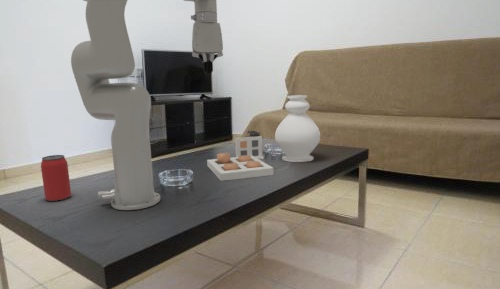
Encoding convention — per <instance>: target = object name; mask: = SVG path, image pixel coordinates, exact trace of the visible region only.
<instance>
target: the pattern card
mask: <svg viewBox="0 0 500 289" xmlns="http://www.w3.org/2000/svg"><path fill="white" fill-rule="evenodd" d="M234 142H235V144H234V145H235V157H238V156H242V155H249V156H254V157H256V158H257V159H259V160H264V159H265V157H264V156H263V154H262V149H263V138H262V135H260V136H258V137H246V136H245V137H236V138H234Z"/></svg>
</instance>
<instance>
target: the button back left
mask: <svg viewBox="0 0 500 289" xmlns="http://www.w3.org/2000/svg"><path fill="white" fill-rule="evenodd" d="M230 158H231V152H219V153H216V159H217V163H220V164H226V163H230Z"/></svg>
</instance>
